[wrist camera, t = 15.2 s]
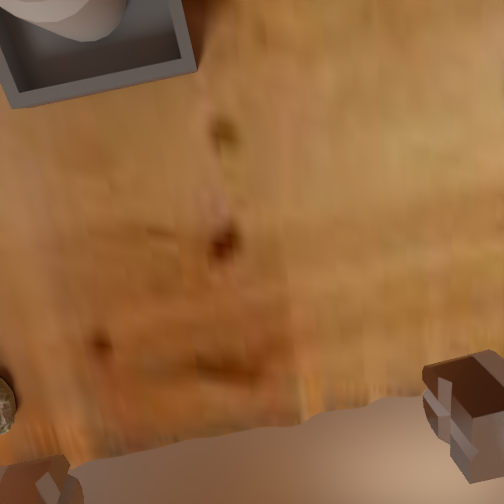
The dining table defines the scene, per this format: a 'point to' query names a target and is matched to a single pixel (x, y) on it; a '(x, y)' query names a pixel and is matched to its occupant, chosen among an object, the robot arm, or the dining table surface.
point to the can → (70, 16)
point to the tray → (93, 55)
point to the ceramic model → (6, 407)
